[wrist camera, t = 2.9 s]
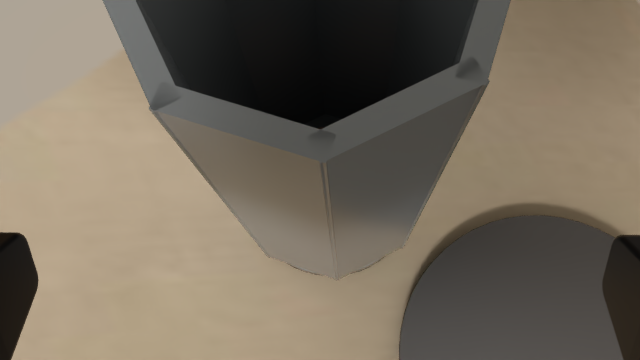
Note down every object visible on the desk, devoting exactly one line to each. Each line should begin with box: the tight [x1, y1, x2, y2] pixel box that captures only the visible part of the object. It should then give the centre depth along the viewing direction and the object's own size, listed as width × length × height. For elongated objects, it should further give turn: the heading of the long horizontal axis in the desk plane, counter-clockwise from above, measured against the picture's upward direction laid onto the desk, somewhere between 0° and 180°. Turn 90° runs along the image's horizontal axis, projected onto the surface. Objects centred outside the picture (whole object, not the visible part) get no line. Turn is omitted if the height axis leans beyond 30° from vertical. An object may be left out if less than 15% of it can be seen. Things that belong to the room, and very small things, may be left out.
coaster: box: [399, 216, 623, 360], centre depth 19 cm, size 9×9×1 cm
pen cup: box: [103, 0, 511, 280], centre depth 15 cm, size 6×6×13 cm
